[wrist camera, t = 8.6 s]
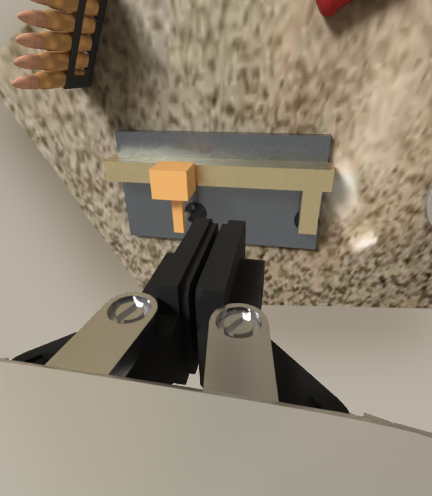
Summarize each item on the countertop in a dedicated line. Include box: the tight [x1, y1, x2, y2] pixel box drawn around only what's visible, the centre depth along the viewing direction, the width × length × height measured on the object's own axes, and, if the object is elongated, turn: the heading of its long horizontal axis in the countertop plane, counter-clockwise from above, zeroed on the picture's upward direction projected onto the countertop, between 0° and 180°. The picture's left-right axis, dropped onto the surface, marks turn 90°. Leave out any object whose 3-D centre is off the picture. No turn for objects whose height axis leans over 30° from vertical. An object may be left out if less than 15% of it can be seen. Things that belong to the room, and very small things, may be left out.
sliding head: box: [149, 161, 196, 233], centre depth 40 cm, size 4×8×6 cm, turn 1°
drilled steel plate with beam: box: [104, 130, 335, 249], centre depth 42 cm, size 26×14×4 cm, turn 91°
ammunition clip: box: [12, 0, 107, 89], centre depth 33 cm, size 11×2×12 cm, turn 157°
